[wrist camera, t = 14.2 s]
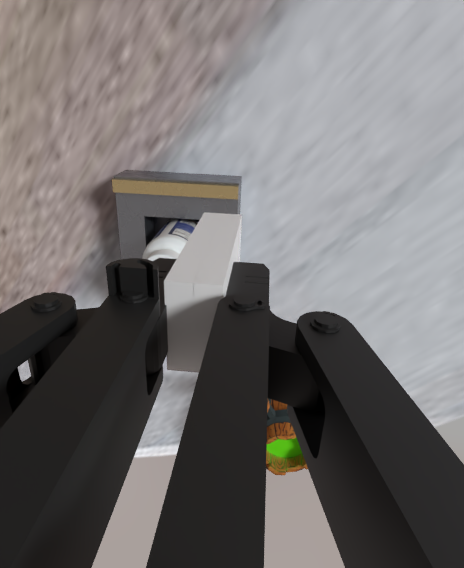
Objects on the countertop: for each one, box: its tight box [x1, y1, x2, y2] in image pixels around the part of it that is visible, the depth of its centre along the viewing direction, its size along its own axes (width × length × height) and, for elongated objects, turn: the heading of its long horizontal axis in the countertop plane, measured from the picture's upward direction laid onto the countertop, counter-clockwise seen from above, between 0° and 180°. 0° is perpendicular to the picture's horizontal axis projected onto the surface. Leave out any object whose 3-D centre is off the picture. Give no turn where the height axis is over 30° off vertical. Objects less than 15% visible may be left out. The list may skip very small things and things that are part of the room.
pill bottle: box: [143, 218, 198, 261], centre depth 40 cm, size 5×5×10 cm
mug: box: [266, 398, 308, 475], centre depth 46 cm, size 13×10×12 cm
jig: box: [112, 170, 242, 259], centre depth 43 cm, size 14×12×4 cm
